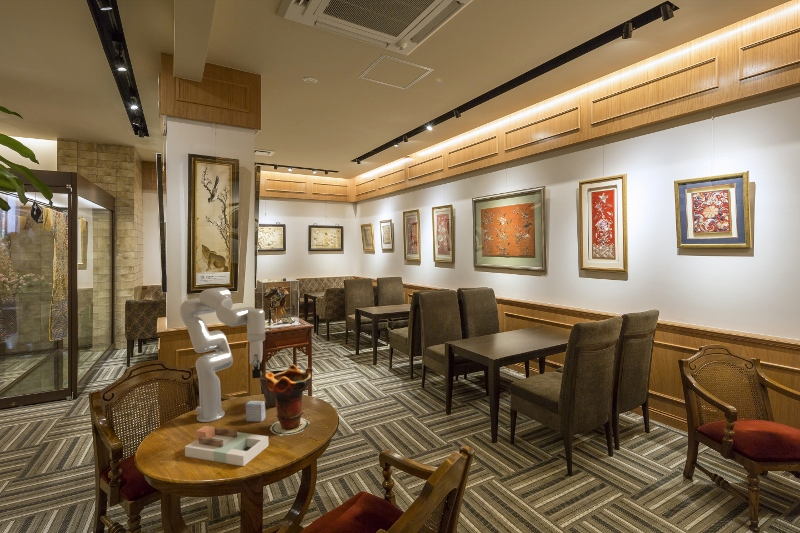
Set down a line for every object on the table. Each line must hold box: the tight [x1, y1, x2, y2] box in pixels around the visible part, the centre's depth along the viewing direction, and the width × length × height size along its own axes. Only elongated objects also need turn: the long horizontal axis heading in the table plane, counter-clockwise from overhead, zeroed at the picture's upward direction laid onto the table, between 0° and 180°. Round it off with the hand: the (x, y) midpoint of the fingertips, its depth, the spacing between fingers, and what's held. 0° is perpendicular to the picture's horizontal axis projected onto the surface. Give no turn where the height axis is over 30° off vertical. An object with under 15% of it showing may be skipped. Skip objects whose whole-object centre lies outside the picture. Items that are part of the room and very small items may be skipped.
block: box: [195, 425, 216, 441], centre depth 166 cm, size 5×5×4 cm
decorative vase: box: [265, 364, 313, 437], centre depth 184 cm, size 21×23×28 cm
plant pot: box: [259, 369, 285, 408], centre depth 210 cm, size 15×15×16 cm
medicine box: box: [245, 400, 267, 422], centre depth 191 cm, size 8×4×9 cm, turn 84°
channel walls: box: [199, 427, 238, 447], centre depth 164 cm, size 11×9×2 cm
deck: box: [184, 431, 270, 467], centre depth 163 cm, size 28×16×4 cm, turn 74°
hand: (257, 374), depth 177 cm, fingers open, 9 cm apart
